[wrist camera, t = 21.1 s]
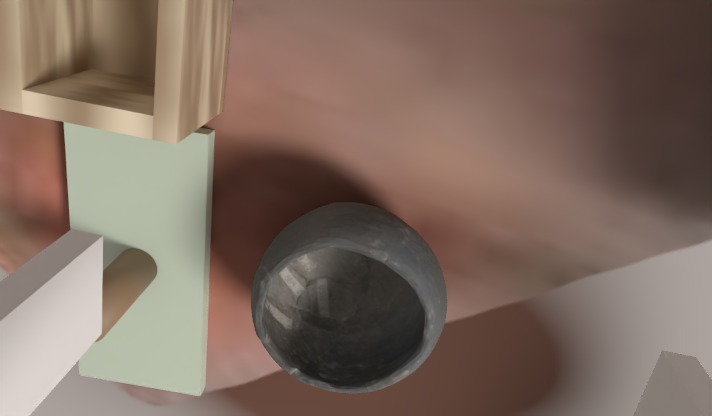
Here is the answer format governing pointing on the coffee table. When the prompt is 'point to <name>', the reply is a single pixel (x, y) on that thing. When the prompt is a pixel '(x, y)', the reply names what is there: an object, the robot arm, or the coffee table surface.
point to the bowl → (349, 298)
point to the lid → (146, 252)
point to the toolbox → (116, 63)
